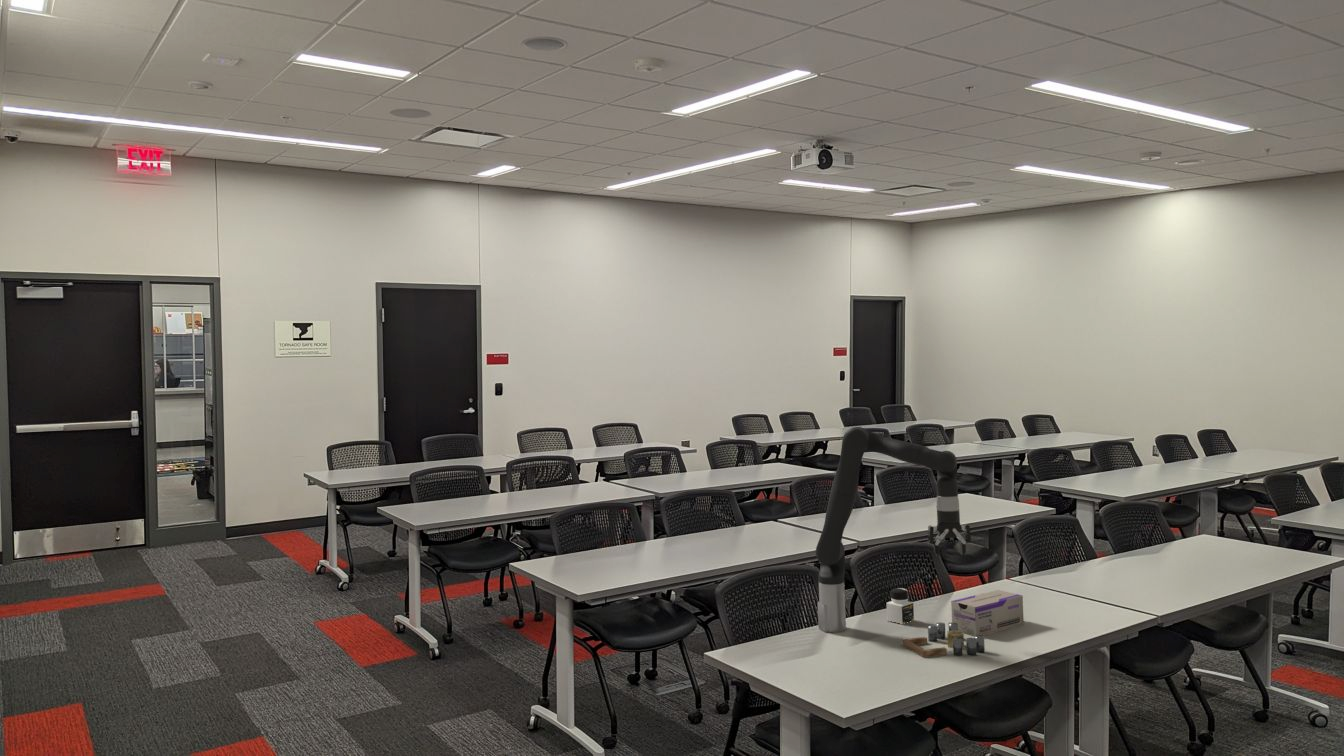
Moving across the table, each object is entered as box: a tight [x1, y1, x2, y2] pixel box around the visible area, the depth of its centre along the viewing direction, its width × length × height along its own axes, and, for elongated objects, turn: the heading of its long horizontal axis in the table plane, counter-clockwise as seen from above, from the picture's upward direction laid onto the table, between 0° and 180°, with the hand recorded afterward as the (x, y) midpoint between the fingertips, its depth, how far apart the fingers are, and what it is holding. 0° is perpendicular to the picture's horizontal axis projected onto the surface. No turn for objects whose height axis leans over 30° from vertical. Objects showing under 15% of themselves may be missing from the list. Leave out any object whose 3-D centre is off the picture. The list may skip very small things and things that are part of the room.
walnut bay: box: [901, 636, 948, 659], centre depth 295 cm, size 8×14×2 cm, turn 13°
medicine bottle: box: [886, 587, 915, 625], centre depth 329 cm, size 7×7×12 cm
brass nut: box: [946, 630, 965, 649], centre depth 297 cm, size 6×5×4 cm
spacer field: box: [927, 621, 986, 657], centre depth 297 cm, size 11×22×5 cm, turn 13°
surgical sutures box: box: [950, 589, 1025, 638], centre depth 317 cm, size 25×11×11 cm, turn 121°
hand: (950, 555), depth 307 cm, fingers open, 8 cm apart
